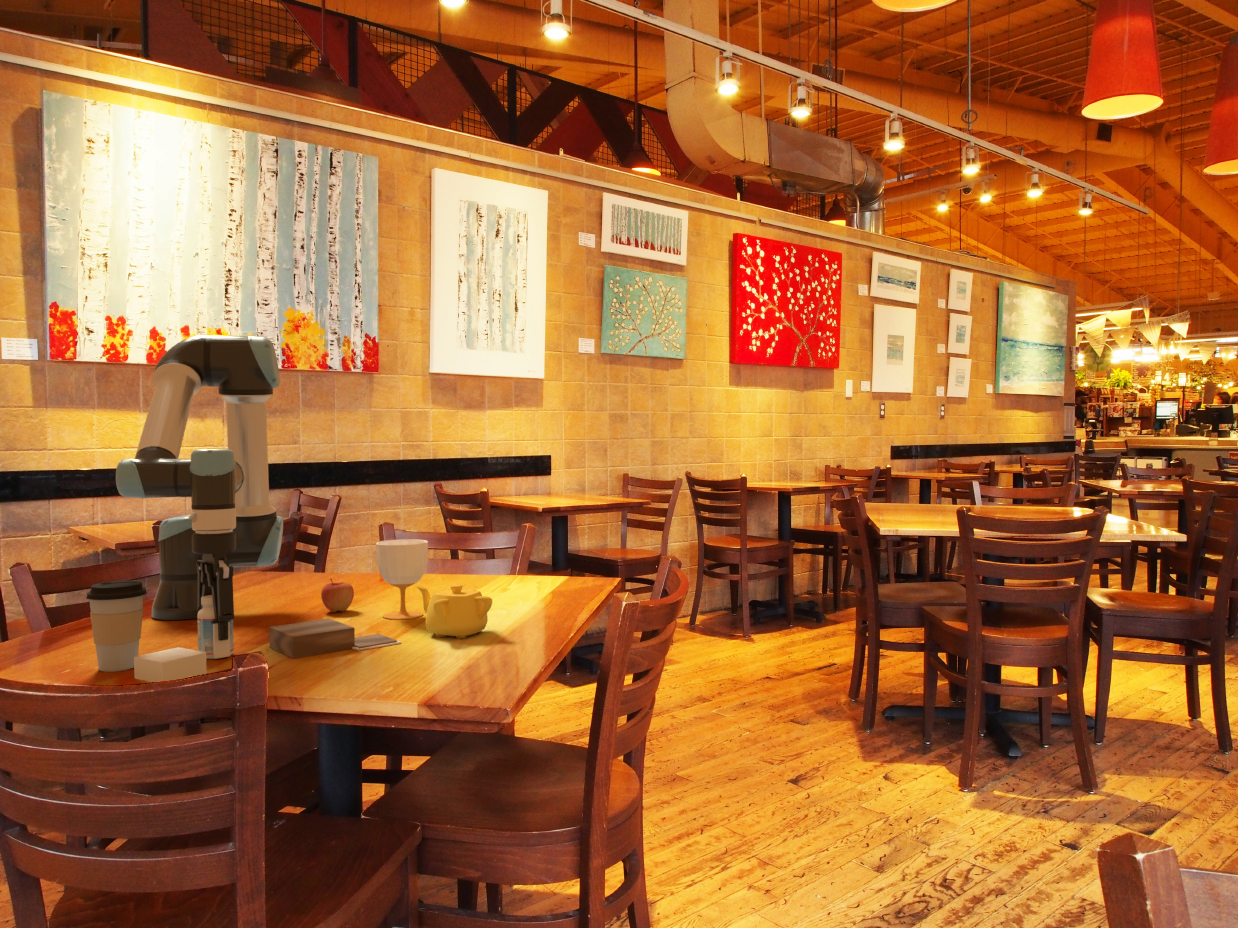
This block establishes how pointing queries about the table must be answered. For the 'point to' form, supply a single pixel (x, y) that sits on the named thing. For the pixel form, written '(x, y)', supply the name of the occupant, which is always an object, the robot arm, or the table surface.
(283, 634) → the walnut block
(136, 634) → the coffee cup
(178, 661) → the beige block
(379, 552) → the cup
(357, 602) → the table surface
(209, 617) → the pill bottle
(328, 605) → the apple
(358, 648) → the tile
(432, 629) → the teapot
